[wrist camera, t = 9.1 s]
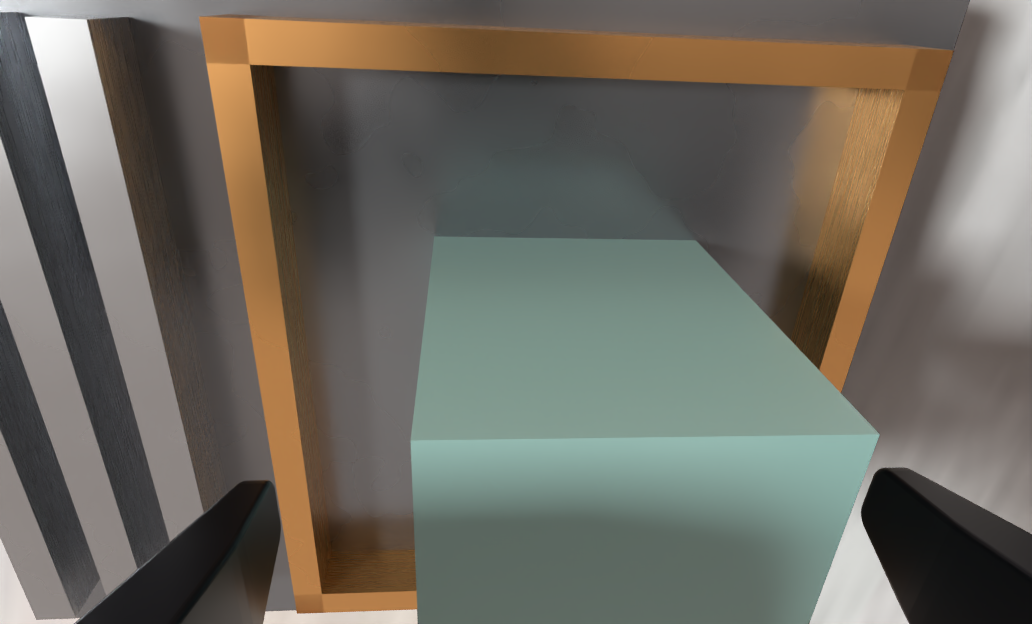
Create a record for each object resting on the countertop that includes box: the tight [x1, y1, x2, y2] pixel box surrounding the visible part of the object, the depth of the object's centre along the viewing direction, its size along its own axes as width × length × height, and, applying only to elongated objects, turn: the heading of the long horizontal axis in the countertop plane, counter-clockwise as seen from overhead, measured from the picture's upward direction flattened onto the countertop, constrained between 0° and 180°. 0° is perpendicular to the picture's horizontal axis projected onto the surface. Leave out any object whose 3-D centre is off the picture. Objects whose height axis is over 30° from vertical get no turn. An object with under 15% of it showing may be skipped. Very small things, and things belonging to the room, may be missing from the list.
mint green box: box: [411, 236, 880, 624], centre depth 11 cm, size 5×7×6 cm
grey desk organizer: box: [0, 0, 970, 620], centre depth 14 cm, size 18×15×5 cm
